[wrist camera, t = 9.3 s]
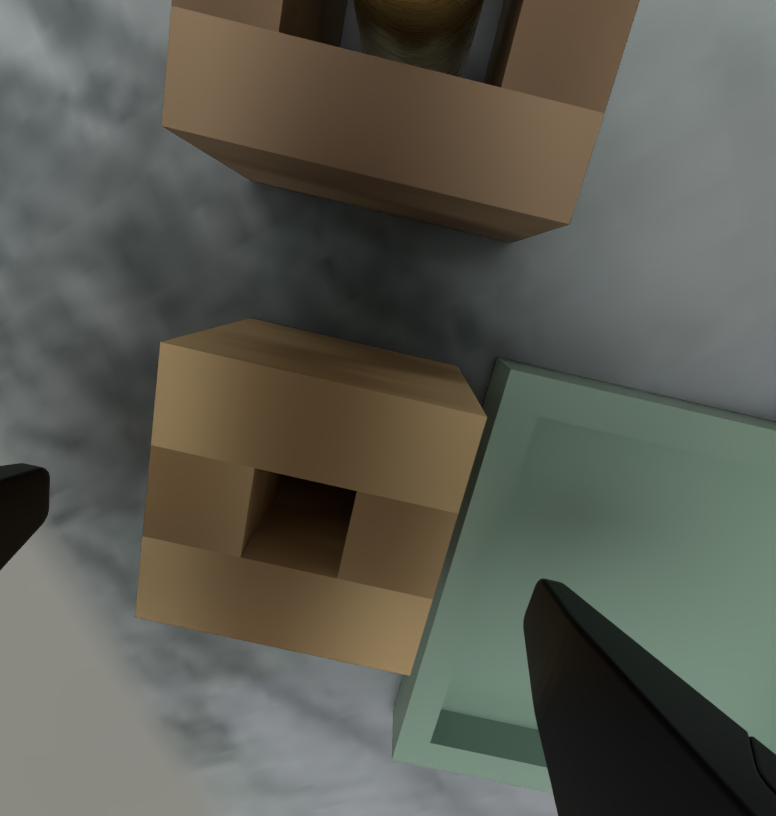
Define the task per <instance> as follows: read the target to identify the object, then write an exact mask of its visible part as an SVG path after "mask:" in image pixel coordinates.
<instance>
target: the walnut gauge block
mask: <svg viewBox="0 0 776 816" xmlns="http://www.w3.org/2000/svg"><path fill="white" fill-rule="evenodd" d="M639 1H640V0H504V4H503V8H502V12H501V16H500V20H499V24H498V28H497V32H496V36H495V40H494V44H493V48H492V52H491V56H490V60H489V65H488V69H487V73H486V77H485V81H484V83H481V82H477V81H473V80H469V79H465V78H461V77H457V76H453V75H449V74H445V73H441V72H437V71H433V70H429V69H425V68H421V67H416V66H412V65H408V64H404V63H400V62H396V61H392V60H388V59H384V58H380V57H376V56H372V55H368V54H364V53H360V52H356V51H352V50H348V49H344V48H340V47H339V45H340V39H341V33H342V27H343V21H344V16H345V10H346V4H347V0H172V4H171V16H170V28H169V41H168V53H167V65H166V77H165V89H164V101H163V113H162V126H163V127H164V128H166V129H168V130H169V131H171V132H172V133H174V134H176V135H177V136H179V137H181V138H182V139H184V140H185V141H187V142H189V143H190V144H192V145H194V146H195V147H197V148H198V149H200V150H202V151H203V152H205V153H207V154H208V155H210V156H211V157H213V158H215V159H216V160H218V161H220V162H221V163H223V164H224V165H226V166H228V167H229V168H231V169H233V170H234V171H236V172H237V173H239V174H241V175H242V176H244V177H246V178H247V179H249V180H251V181H255V182H259V183H264V184H268V185H272V186H276V187H280V188H284V189H289V190H293V191H297V192H301V193H305V194H309V195H314V196H318V197H322V198H326V199H330V200H335V201H339V202H343V203H347V204H351V205H355V206H360V207H364V208H368V209H372V210H376V211H380V212H385V213H389V214H393V215H397V216H401V217H406V218H410V219H414V220H418V221H422V222H426V223H431V224H435V225H439V226H443V227H447V228H451V229H456V230H460V231H464V232H468V233H472V234H476V235H481V236H485V237H489V238H493V239H497V240H502V241H506V242H510V243H512V242H515V241H518V240H521V239H525V238H528V237H531V236H534V235H537V234H540V233H544V232H547V231H550V230H553V229H556V228H559V227H563V226H566V225H569V224H570V221H571V218H572V215H573V212H574V209H575V205H576V202H577V199H578V196H579V193H580V189H581V186H582V183H583V180H584V177H585V173H586V170H587V167H588V164H589V161H590V158H591V154H592V151H593V148H594V145H595V142H596V138H597V135H598V132H599V129H600V126H601V122H602V119H603V116H604V113H605V110H606V106H607V103H608V100H609V97H610V94H611V90H612V87H613V84H614V81H615V78H616V74H617V71H618V68H619V65H620V62H621V58H622V55H623V52H624V49H625V46H626V42H627V39H628V36H629V33H630V30H631V26H632V23H633V20H634V17H635V14H636V10H637V7H638V4H639Z"/></svg>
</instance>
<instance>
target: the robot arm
mask: <svg viewBox="0 0 776 816" xmlns="http://www.w3.org/2000/svg"><path fill="white" fill-rule="evenodd" d="M49 490H50V475H49V472H48V471H47V470H46V469H45V468H42V467H38V466H34V465H29V464H24V463H19V464H12V465H5V466H0V570H1V569H2V568H3V567H4V566H5V564H6V563H7V562H8V561H9V560H10V559H11V558H12V557H13V556H14V555H15V553H16V552H17V551H18V550H19V549H20V548H21V547H22V546H23V545H24V544H25V543H26V542H27V541H28V539H29V538H30V537H31V536H32V535H33V534H34V533H35V532H36V531H37V530H38V528H39V527H40V526H41V525H42V524H43V523H44V521H45V519H46V517H47V515H48V511H49ZM523 631H524V638H525V646H526V654H527V662H528V670H529V677H530V685H531V693H532V700H533V707H534V713H535V718H536V722H537V727H538V731H539V736H540V740H541V744H542V748H543V753H544V757H545V761H546V765H547V770H548V774H549V778H550V782H551V786H552V791H553V795H554V799H555V803H556V808H557V812H558V816H776V754H775V753H773V752H772V751H771V750H770V749H768V748H767V747H766V746H765V745H763V744H762V743H761V742H760V741H759V740H757V739H756V738H755V737H753V736H750V737H749V734H748V732H747V731H746V730H745V729H743V728H742V727H741V726H740V725H739V724H737V723H736V722H735V721H734V720H732V719H731V718H730V717H729V716H727V715H726V714H725V713H724V712H722V711H721V710H720V709H719V708H717V707H716V706H715V705H714V704H712V703H711V702H710V701H709V700H708V699H706V698H705V697H704V696H703V695H701V694H700V693H699V692H698V691H696V690H695V689H694V688H693V687H691V686H690V685H689V684H688V683H686V682H685V681H684V680H683V679H681V678H680V677H679V676H678V675H677V674H675V673H674V672H673V671H672V670H670V669H669V668H668V667H667V666H665V665H664V664H663V663H662V662H660V661H659V660H658V659H657V658H655V657H654V656H653V655H652V654H651V653H649V652H648V651H647V650H646V649H644V648H643V647H642V646H641V645H639V644H638V643H637V642H636V641H634V640H633V639H632V638H631V637H629V636H628V635H627V634H626V633H624V632H623V631H622V630H621V629H620V628H618V627H617V626H616V625H615V624H613V623H612V622H611V621H610V620H608V619H607V618H606V617H605V616H603V615H602V614H601V613H600V612H598V611H597V610H596V609H595V608H593V607H592V606H591V605H590V604H589V603H587V602H586V601H585V600H584V599H582V598H581V597H580V596H579V595H577V594H576V593H575V592H574V591H572V590H571V589H570V588H569V587H567V586H566V585H565V584H564V583H561V582H558V581H554V580H549V579H544V578H542V579H540V580H538V582H537V583H536V585H535V587H534V590H533V593H532V596H531V598H530V601H529V604H528V607H527V609H526V612H525V615H524V620H523Z"/></svg>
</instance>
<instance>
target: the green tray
mask: <svg viewBox="0 0 776 816" xmlns="http://www.w3.org/2000/svg"><path fill="white" fill-rule="evenodd" d="M482 409H483V411H484V412H485V414H486V416H487V420H486V423H485V426H484V430H483V433H482V436H481V440H480V443H479V446H478V450H477V453H476V456H475V460H474V463H473V466H472V470H471V473H470V476H469V480H468V483H467V486H466V490H465V493H464V497H463V500H462V503H461V507H460V510H459V513H458V517H457V520H456V523H455V527H454V530H453V533H452V537H451V540H450V543H449V547H448V550H447V553H446V557H445V560H444V563H443V567H442V570H441V573H440V577H439V580H438V583H437V587H436V590H435V593H434V597H433V600H432V604H431V607H430V610H429V614H428V617H427V620H426V624H425V627H424V630H423V634H422V637H421V640H420V644H419V647H418V650H417V654H416V657H415V660H414V664H413V667H412V670H411V674H410V676H408V675H403V679H402V682H401V685H400V689H399V692H398V696H397V699H396V702H395V706H394V709H393V738H392V760H395V761H400V762H404V763H409V764H414V765H419V766H424V767H428V768H433V769H438V770H443V771H448V772H452V773H457V774H462V775H467V776H472V777H476V778H481V779H486V780H491V781H496V782H500V783H505V784H510V785H515V786H520V787H524V788H529V789H534V790H539V791H543V792H548V793H553V791H552V786H551V782H550V778H549V774H548V770H547V765H546V761H545V757H544V753H543V748H542V744H541V740H540V736H539V731H538V727H537V722H536V718H535V713H534V707H533V700H532V693H531V685H530V677H529V670H528V662H527V654H526V646H525V638H524V631H523V620H524V615H525V612H526V609H527V607H528V604H529V601H530V598H531V596H532V593H533V590H534V587H535V585H536V583H537V582H538V580H540V579H542V578H544V579H549V580H554V581H558V582H561V583H564V584H565V585H566V586H567V587H569V588H570V589H571V590H572V591H574V592H575V593H576V594H577V595H579V596H580V597H581V598H582V599H584V600H585V601H586V602H587V603H589V604H590V605H591V606H592V607H593V608H595V609H596V610H597V611H598V612H600V613H601V614H602V615H603V616H605V617H606V618H607V619H608V620H610V621H611V622H612V623H613V624H615V625H616V626H617V627H618V628H620V629H621V630H622V631H623V632H624V633H626V634H627V635H628V636H629V637H631V638H632V639H633V640H634V641H636V642H637V643H638V644H639V645H641V646H642V647H643V648H644V649H646V650H647V651H648V652H649V653H651V654H652V655H653V656H654V657H655V658H657V659H658V660H659V661H660V662H662V663H663V664H664V665H665V666H667V667H668V668H669V669H670V670H672V671H673V672H674V673H675V674H677V675H678V676H679V677H680V678H681V679H683V680H684V681H685V682H686V683H688V684H689V685H690V686H691V687H693V688H694V689H695V690H696V691H698V692H699V693H700V694H701V695H703V696H704V697H705V698H706V699H708V700H709V701H710V702H711V703H712V704H714V705H715V706H716V707H717V708H719V709H720V710H721V711H722V712H724V713H725V714H726V715H727V716H729V717H730V718H731V719H732V720H734V721H735V722H736V723H737V724H739V725H740V726H741V727H742V728H743V729H745V730H746V731H747V732H748V734H749V737H750V736H753V737H755V738H756V739H757V740H759V741H760V742H761V743H762V744H763V745H765V746H766V747H767V748H768V749H770V750H771V751H772V752H773V753H775V754H776V422H774V421H770V420H765V419H761V418H757V417H752V416H748V415H744V414H739V413H735V412H731V411H727V410H722V409H718V408H714V407H709V406H705V405H701V404H697V403H692V402H688V401H684V400H679V399H675V398H671V397H666V396H662V395H658V394H654V393H649V392H645V391H641V390H636V389H632V388H628V387H623V386H619V385H615V384H611V383H606V382H602V381H598V380H593V379H589V378H585V377H581V376H576V375H572V374H568V373H563V372H559V371H555V370H550V369H546V368H542V367H538V366H533V365H529V364H525V363H520V362H516V361H512V360H507V359H503V358H499V357H497V359H496V362H495V366H494V369H493V373H492V376H491V379H490V383H489V386H488V390H487V393H486V396H485V400H484V403H483V407H482Z"/></svg>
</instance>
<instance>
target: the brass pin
mask: <svg viewBox="0 0 776 816" xmlns="http://www.w3.org/2000/svg"><path fill="white" fill-rule="evenodd" d="M353 1H354V6H355V11H356V17H357V22H358V27H359V33H360V38H361V43H362V49H363V53H364V54H368V55H372V56H376V57H380V58H384V59H388V60H392V61H396V62H400V63H404V64H408V65H412V66H416V67H421V68H425V69H429V70H433V71H437V72H441V73H445V74H449V75H453V76H457V77H461V78H462V76H463V73H464V69H465V66H466V62H467V59H468V55H469V52H470V48H471V45H472V41H473V38H474V34H475V31H476V27H477V24H478V20H479V17H480V13H481V10H482V6H483V3H484V0H353Z"/></svg>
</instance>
